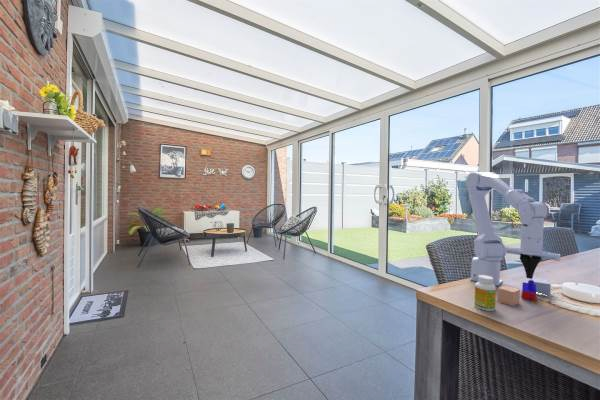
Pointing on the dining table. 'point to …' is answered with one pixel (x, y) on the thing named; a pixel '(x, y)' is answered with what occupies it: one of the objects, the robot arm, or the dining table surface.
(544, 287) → the slate blue block
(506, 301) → the terracotta block
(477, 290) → the supplement bottle
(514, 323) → the dining table surface
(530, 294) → the toy building block
